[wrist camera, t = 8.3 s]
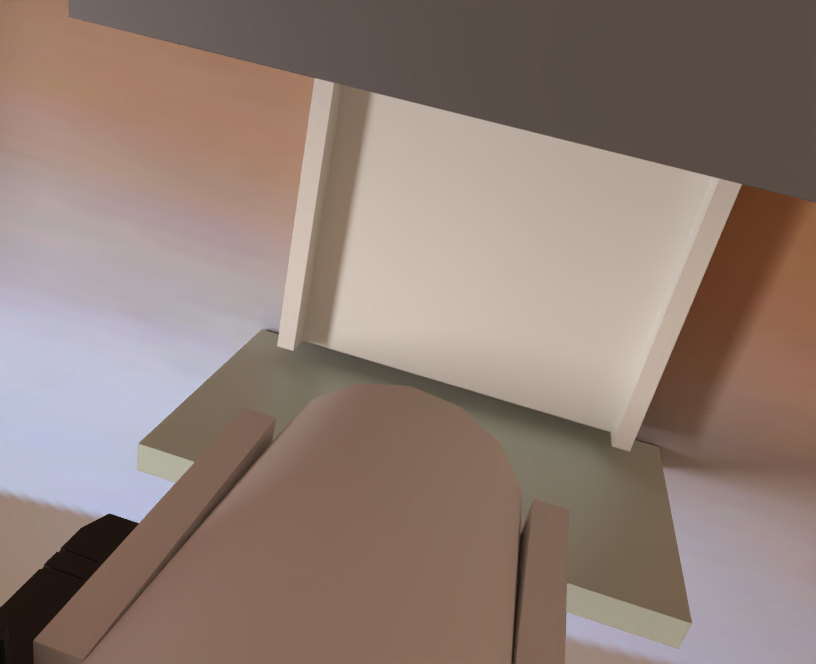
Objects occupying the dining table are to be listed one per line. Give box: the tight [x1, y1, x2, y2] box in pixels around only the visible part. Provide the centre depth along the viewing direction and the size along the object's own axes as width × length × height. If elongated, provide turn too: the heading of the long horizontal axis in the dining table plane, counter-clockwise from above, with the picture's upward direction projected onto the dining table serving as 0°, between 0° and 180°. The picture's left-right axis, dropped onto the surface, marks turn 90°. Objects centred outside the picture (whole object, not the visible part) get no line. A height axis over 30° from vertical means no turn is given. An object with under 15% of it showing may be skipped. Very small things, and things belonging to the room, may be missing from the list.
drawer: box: [137, 78, 742, 649], centre depth 26 cm, size 16×20×11 cm
